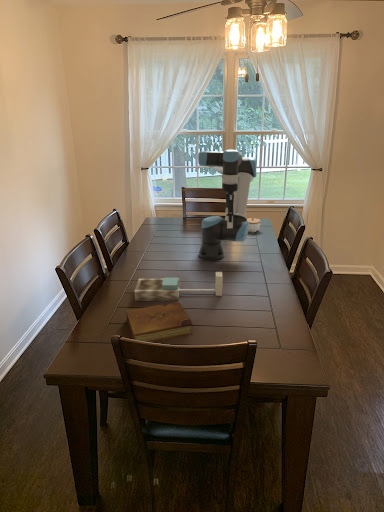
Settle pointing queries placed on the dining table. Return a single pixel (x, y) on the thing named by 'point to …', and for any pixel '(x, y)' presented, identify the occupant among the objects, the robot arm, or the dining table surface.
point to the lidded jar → (253, 224)
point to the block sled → (173, 285)
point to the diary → (158, 322)
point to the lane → (154, 291)
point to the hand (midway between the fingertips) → (228, 223)
